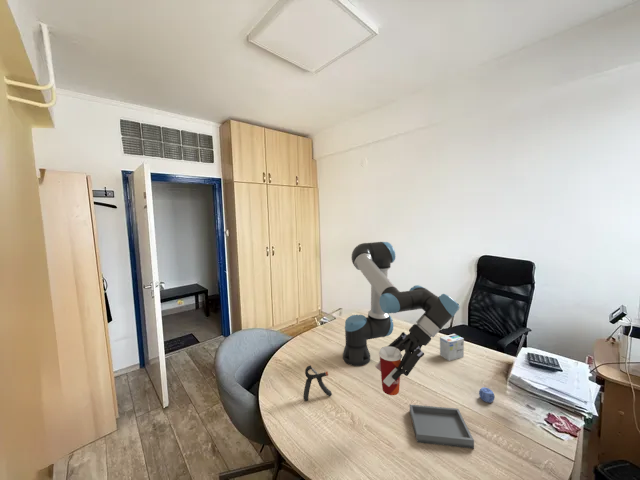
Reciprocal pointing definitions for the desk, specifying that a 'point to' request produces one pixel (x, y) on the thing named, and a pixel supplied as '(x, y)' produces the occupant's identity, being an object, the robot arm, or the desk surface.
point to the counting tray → (440, 426)
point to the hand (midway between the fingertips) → (381, 375)
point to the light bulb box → (452, 347)
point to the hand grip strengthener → (319, 379)
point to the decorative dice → (486, 395)
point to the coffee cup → (389, 367)
